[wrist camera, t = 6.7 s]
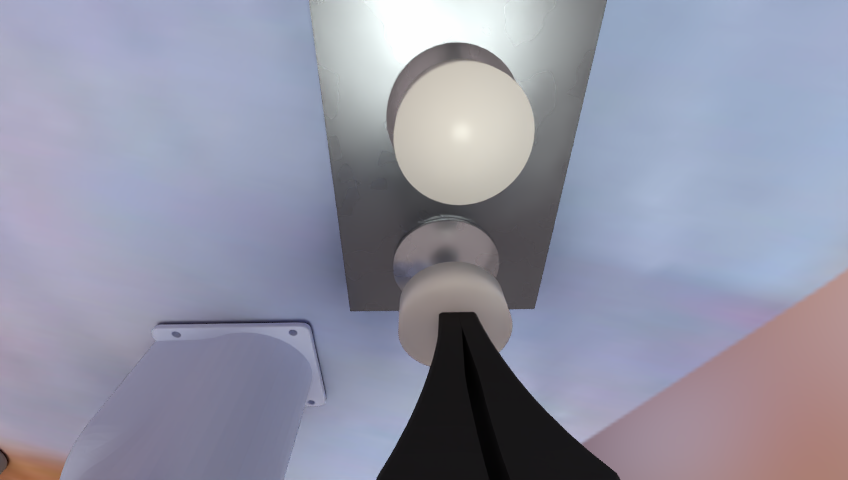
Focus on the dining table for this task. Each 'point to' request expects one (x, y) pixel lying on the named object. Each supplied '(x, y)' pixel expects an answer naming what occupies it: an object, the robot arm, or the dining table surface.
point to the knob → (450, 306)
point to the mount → (375, 120)
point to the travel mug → (2, 462)
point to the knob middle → (463, 131)
